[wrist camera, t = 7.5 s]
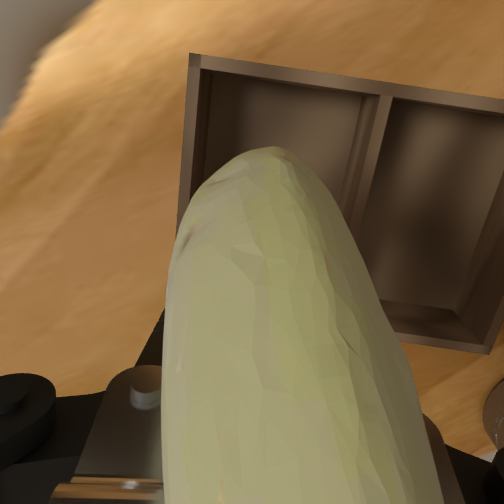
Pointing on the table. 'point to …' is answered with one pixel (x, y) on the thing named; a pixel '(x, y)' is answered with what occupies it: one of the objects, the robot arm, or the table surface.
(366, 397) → the fruit
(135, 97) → the table surface
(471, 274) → the walnut crate
